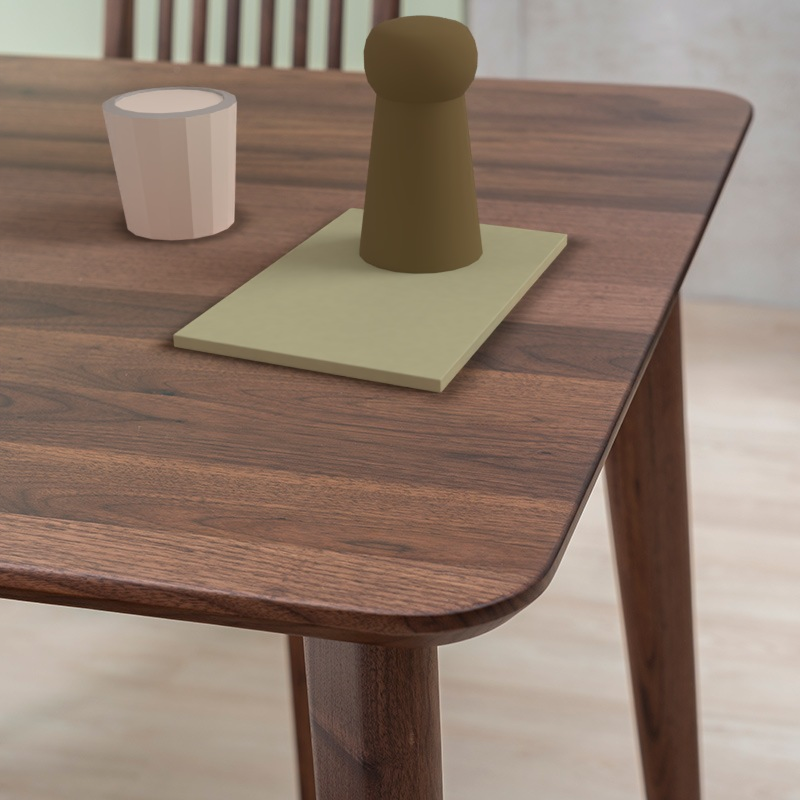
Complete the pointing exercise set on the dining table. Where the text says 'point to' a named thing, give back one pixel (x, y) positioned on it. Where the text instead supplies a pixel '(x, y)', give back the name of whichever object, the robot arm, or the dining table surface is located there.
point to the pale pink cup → (174, 160)
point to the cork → (420, 148)
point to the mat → (373, 308)
